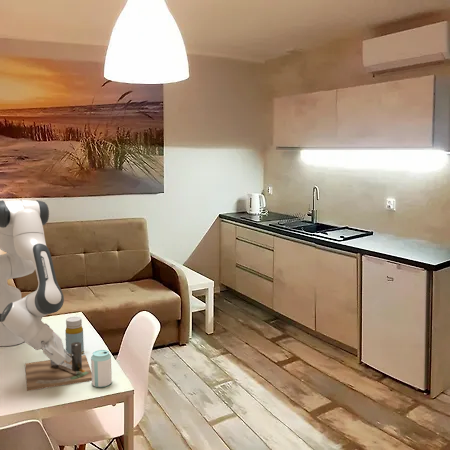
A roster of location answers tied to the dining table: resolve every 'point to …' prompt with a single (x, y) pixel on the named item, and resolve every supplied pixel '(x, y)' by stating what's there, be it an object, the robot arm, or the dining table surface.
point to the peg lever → (76, 360)
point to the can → (101, 368)
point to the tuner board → (54, 374)
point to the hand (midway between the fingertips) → (70, 359)
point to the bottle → (74, 333)
